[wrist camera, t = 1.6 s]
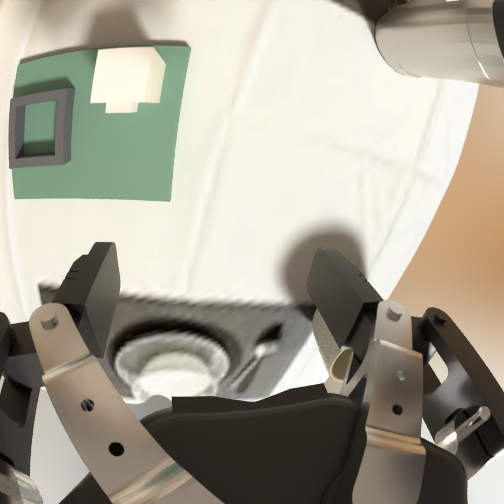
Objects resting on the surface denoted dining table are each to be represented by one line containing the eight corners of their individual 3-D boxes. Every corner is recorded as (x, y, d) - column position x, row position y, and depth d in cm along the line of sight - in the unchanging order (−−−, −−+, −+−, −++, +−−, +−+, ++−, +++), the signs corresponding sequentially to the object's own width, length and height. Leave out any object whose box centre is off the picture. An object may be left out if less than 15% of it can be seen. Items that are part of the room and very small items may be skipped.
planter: (382, 274, 40) (420, 318, 31) (353, 329, 46) (380, 374, 37) (318, 271, 37) (354, 326, 28) (293, 333, 43) (315, 387, 34)
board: (23, 65, 15) (8, 64, 12) (191, 49, 20) (190, 42, 17) (19, 195, 23) (6, 205, 20) (170, 197, 28) (168, 208, 25)
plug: (125, 64, 18) (98, 49, 12) (166, 64, 20) (153, 47, 13) (118, 110, 21) (89, 114, 14) (158, 111, 22) (142, 113, 15)
